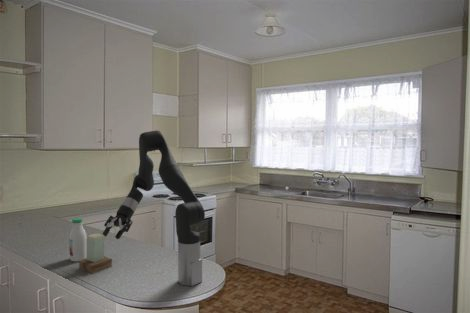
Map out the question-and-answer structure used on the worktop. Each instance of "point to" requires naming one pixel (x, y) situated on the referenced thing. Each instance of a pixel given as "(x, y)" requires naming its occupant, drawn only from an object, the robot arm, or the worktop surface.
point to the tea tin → (95, 247)
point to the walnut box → (95, 265)
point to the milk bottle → (77, 241)
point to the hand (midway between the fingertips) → (110, 236)
